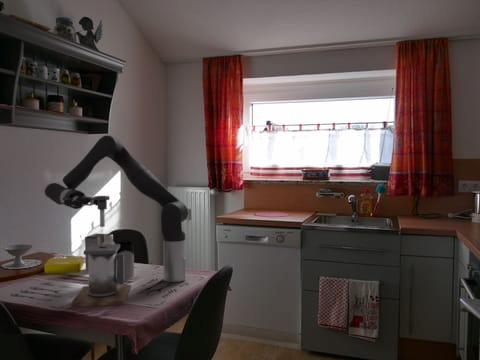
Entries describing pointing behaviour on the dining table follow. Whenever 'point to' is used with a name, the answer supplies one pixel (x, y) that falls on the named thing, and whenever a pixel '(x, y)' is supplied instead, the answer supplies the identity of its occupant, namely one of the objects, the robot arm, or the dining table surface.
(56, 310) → the dining table surface
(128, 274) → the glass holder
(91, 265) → the press
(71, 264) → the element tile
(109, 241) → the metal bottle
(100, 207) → the plunger
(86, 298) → the board
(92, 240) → the coffee box
